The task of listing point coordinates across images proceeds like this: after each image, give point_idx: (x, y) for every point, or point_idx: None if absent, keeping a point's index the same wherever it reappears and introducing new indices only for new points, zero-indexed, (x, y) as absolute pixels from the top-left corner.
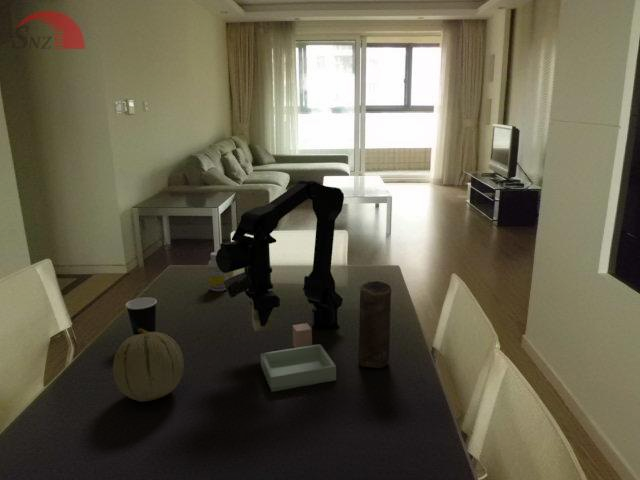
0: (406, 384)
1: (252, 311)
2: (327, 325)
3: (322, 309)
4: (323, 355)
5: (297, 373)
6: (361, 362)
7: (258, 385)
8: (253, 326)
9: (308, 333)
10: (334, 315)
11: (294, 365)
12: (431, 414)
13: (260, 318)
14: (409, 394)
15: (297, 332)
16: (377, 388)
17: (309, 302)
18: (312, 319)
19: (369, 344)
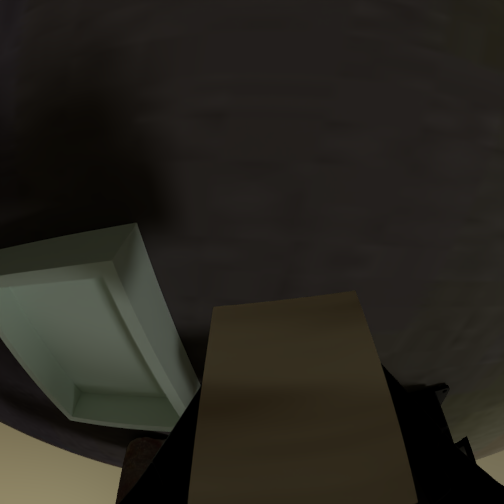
0: (95, 447)
1: (319, 438)
2: None
3: None
4: (134, 419)
5: (10, 348)
6: (137, 444)
7: (12, 212)
8: (293, 305)
9: None
10: None
11: (123, 338)
12: (32, 431)
13: (170, 441)
14: (68, 438)
15: None
16: (72, 422)
17: (464, 441)
18: (429, 406)
19: (118, 489)
